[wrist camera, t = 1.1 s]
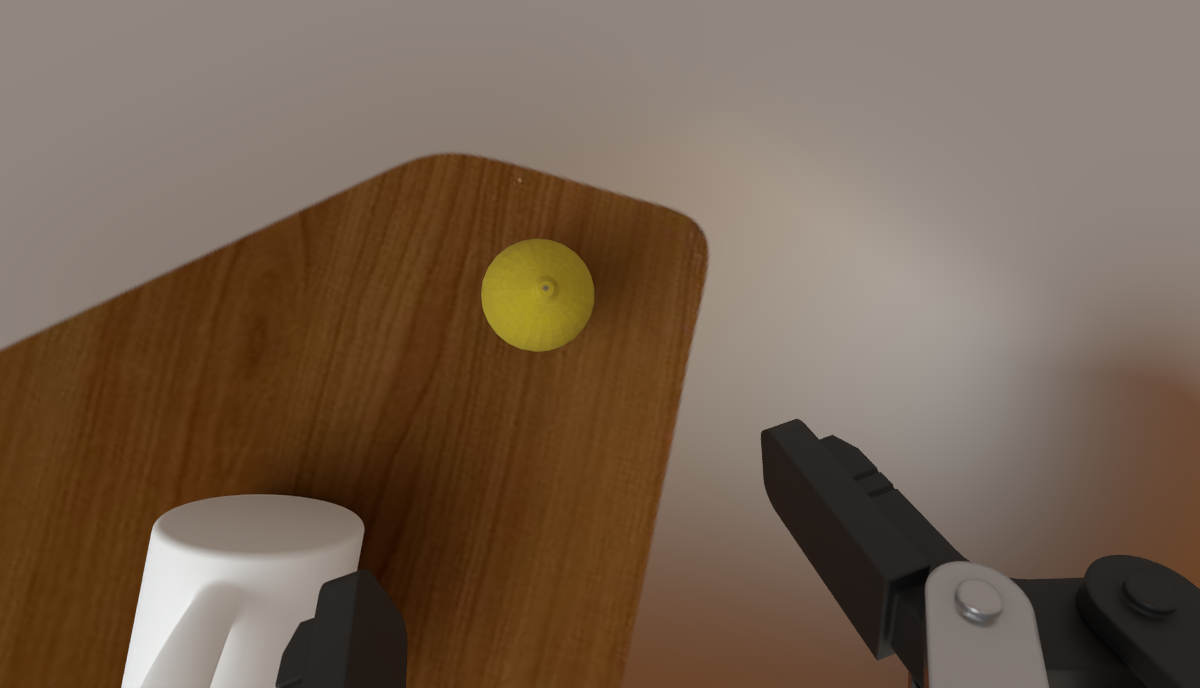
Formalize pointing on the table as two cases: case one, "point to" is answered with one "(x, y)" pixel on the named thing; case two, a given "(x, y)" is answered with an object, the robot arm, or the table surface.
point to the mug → (234, 587)
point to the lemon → (537, 295)
